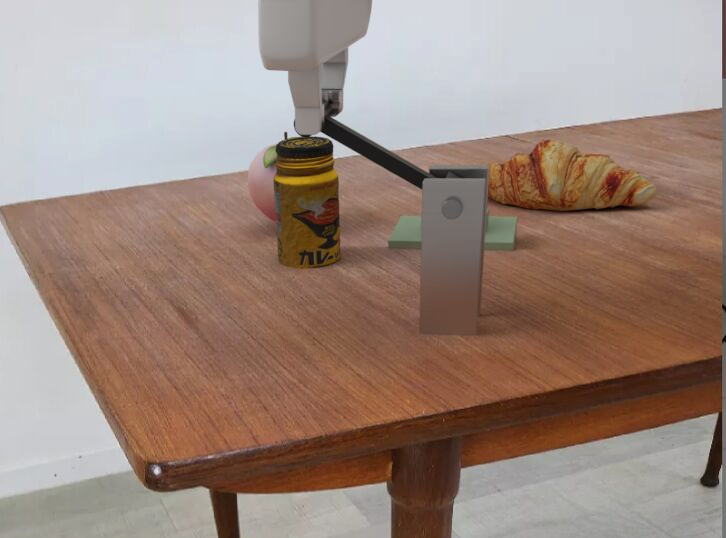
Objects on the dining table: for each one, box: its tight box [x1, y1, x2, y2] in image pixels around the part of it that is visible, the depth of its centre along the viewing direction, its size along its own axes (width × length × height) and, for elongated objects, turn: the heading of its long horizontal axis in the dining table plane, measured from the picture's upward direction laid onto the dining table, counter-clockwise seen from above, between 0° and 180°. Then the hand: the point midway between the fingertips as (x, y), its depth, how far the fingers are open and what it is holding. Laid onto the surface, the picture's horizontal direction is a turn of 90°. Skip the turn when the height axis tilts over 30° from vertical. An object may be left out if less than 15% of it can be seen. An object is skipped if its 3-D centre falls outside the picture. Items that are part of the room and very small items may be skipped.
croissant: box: [488, 139, 658, 212], centre depth 106 cm, size 21×10×8 cm, turn 66°
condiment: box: [274, 135, 342, 270], centre depth 89 cm, size 7×8×12 cm
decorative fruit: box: [247, 131, 296, 223], centre depth 102 cm, size 9×8×10 cm
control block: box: [387, 206, 518, 251], centre depth 94 cm, size 12×9×4 cm
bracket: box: [418, 164, 489, 337], centre depth 72 cm, size 10×8×13 cm
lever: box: [293, 99, 460, 190], centre depth 69 cm, size 14×6×2 cm, turn 77°
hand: (320, 123), depth 69 cm, fingers closed on lever, 5 cm apart
